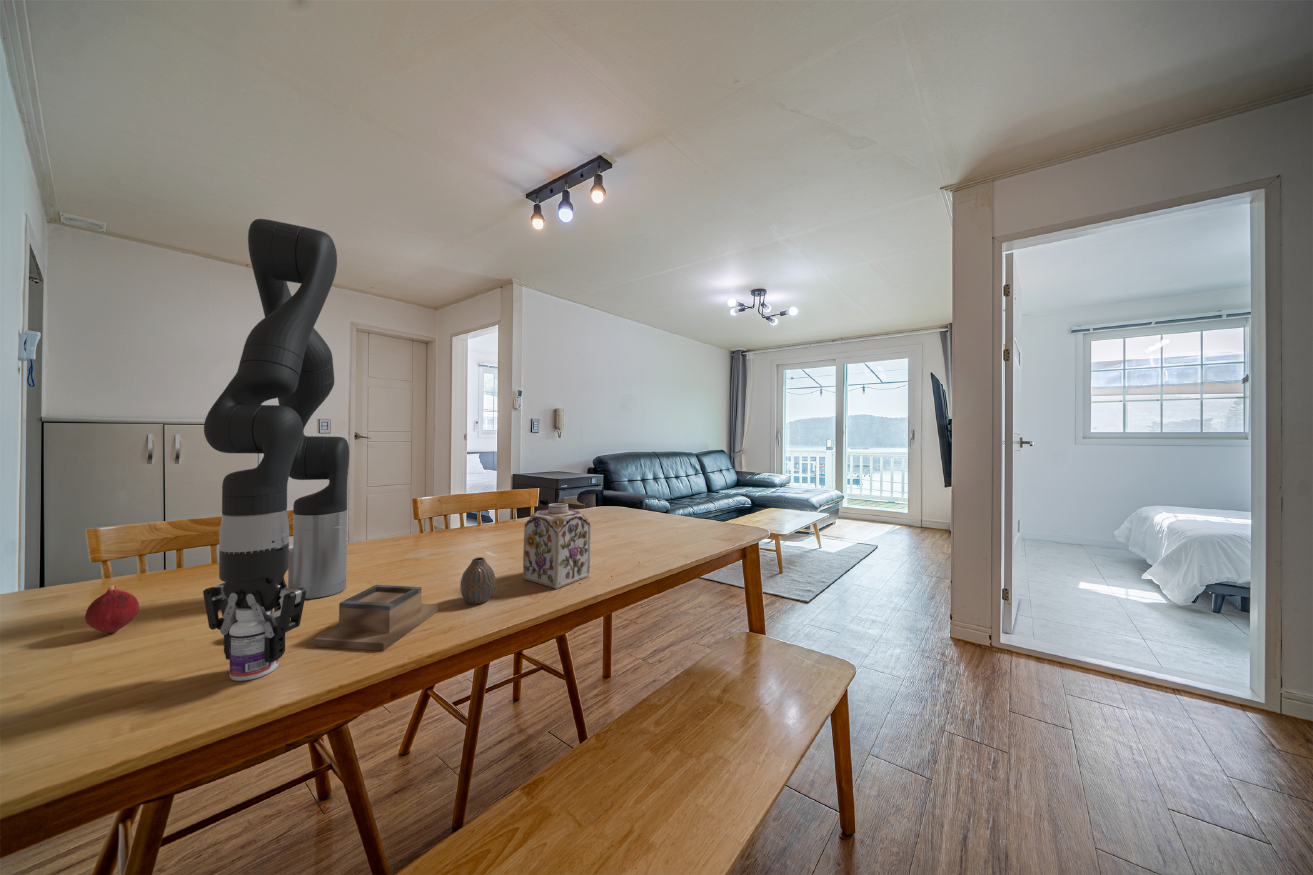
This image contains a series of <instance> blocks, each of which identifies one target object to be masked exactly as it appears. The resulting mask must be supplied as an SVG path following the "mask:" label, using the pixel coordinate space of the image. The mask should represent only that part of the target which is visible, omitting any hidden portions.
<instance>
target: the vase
mask: <svg viewBox="0 0 1313 875" xmlns="http://www.w3.org/2000/svg"><path fill="white" fill-rule="evenodd" d="M496 585H497V577H496V574H495V572H494V569H493V568H492V567H491V566H490V565H489V563H488V561H487V560H486V558H485V557H480V556H479V557H474V558H473V559H472V560H471V562H470V563H469V565H468V566H467V568H466V569H465V570H464V572H462V576H461V578H460V583H459V586H460V587H459V589H460V593H461V596H462V598H463V600H465V601H466V602H467V603H468V604H471V605H480V604H484V603H486V602H488V601H489V600H490V599H491V598H492V597H493V595H494V594H495V590H496Z"/></svg>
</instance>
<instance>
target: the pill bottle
mask: <svg viewBox="0 0 1313 875" xmlns="http://www.w3.org/2000/svg"><path fill="white" fill-rule="evenodd" d="M273 612H274V608H273V609H272V610H270V611H268V612H266V614H268V615H269V614H271V613H273ZM236 620H238V621H237V622H236V623H234V624H233V625H232V626H231V628H230V630H229V647H230V660H229V678H230V679H231V680H233V681H237V682H243V681H250V680H255V679H258V678H262V677H265V676H266V675H269V674H270V673H272V672H273V671H275V670H276V669H277V668H278V666H279V664H280V658H279V659H277V660H276V661H274V662H272V663H267V662H265V638H266V637H267V636H266V634H265V631H264V629H263V626H262V624H258V623H257V621H256V618H255V615H254V613H253V610H252V609H243V608H238V609H236ZM272 621H273V624H274V626H277V624H276V621H275V619H274V618H273V620H272Z"/></svg>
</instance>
